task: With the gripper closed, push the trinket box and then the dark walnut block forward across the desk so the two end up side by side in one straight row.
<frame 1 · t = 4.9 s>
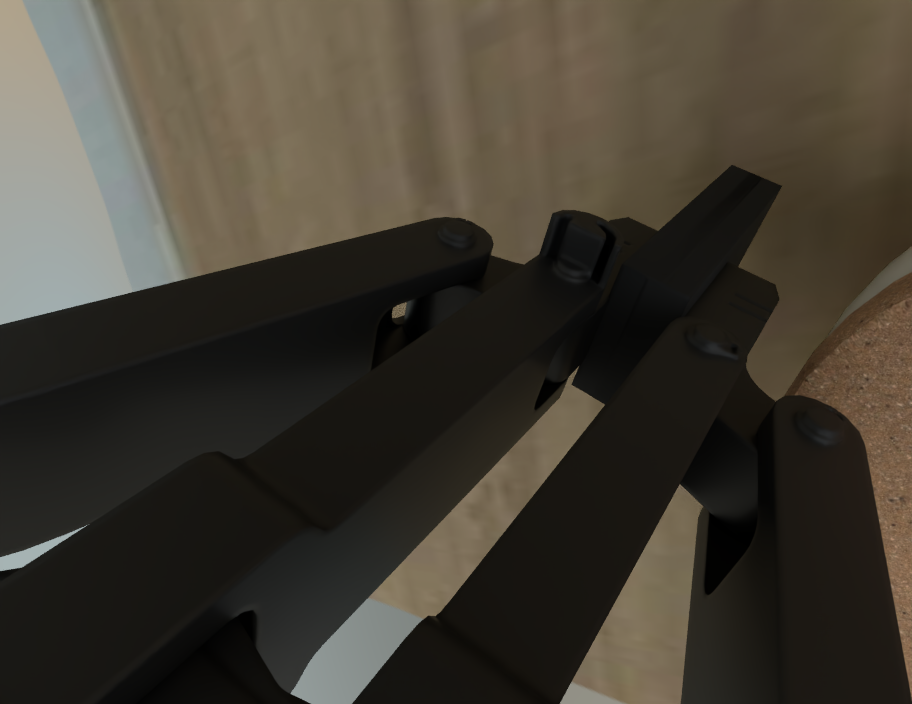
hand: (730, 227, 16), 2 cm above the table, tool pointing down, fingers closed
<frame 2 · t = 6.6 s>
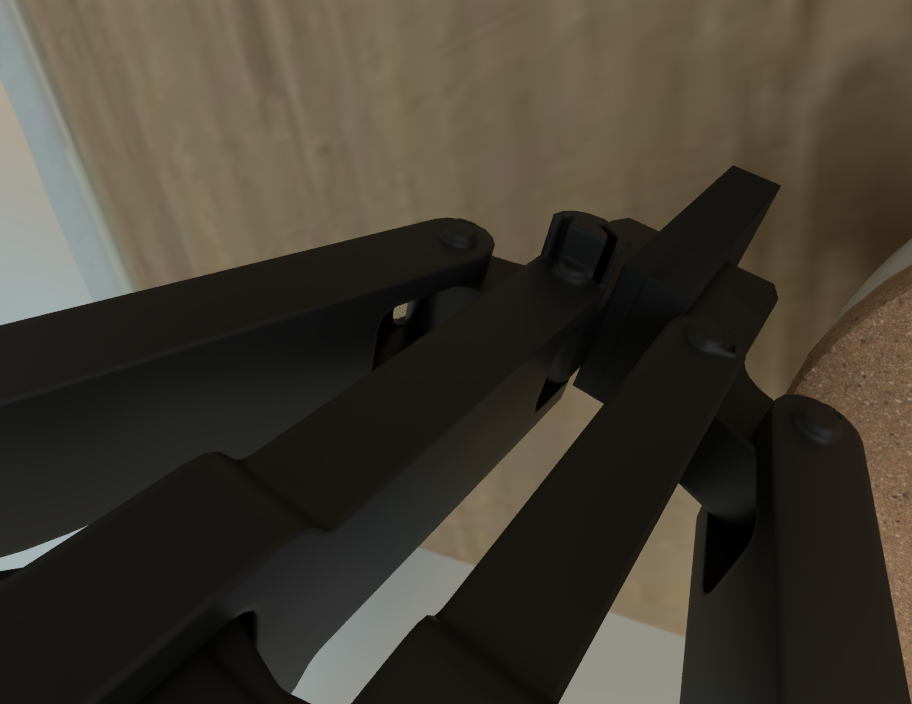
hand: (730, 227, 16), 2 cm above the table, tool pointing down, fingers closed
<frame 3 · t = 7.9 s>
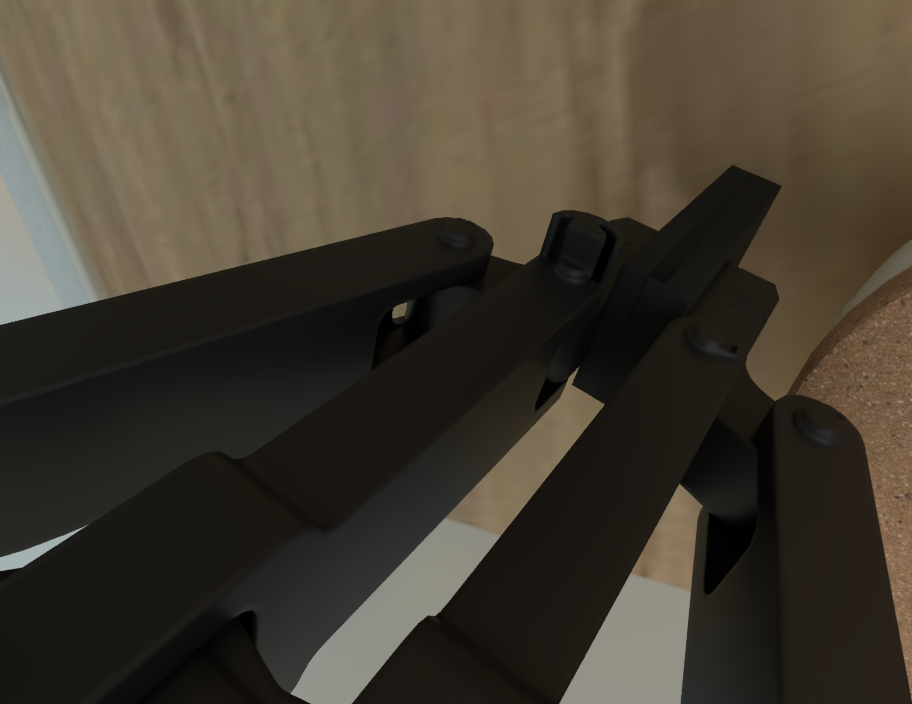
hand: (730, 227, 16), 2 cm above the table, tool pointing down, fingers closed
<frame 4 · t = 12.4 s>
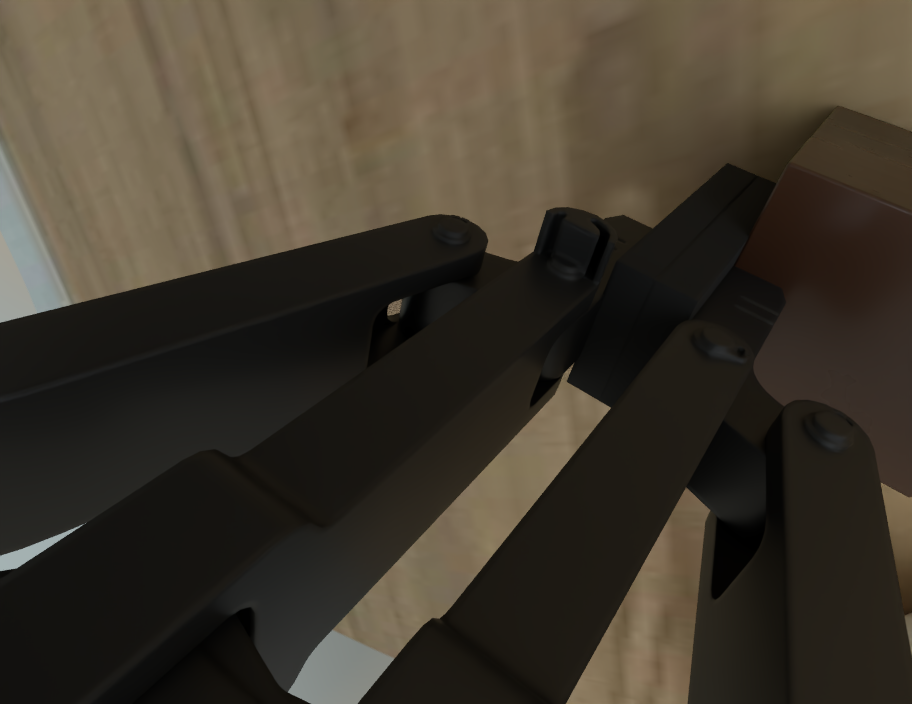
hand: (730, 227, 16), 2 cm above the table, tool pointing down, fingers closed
walnut block: (886, 247, 16), on the table, touching gripper
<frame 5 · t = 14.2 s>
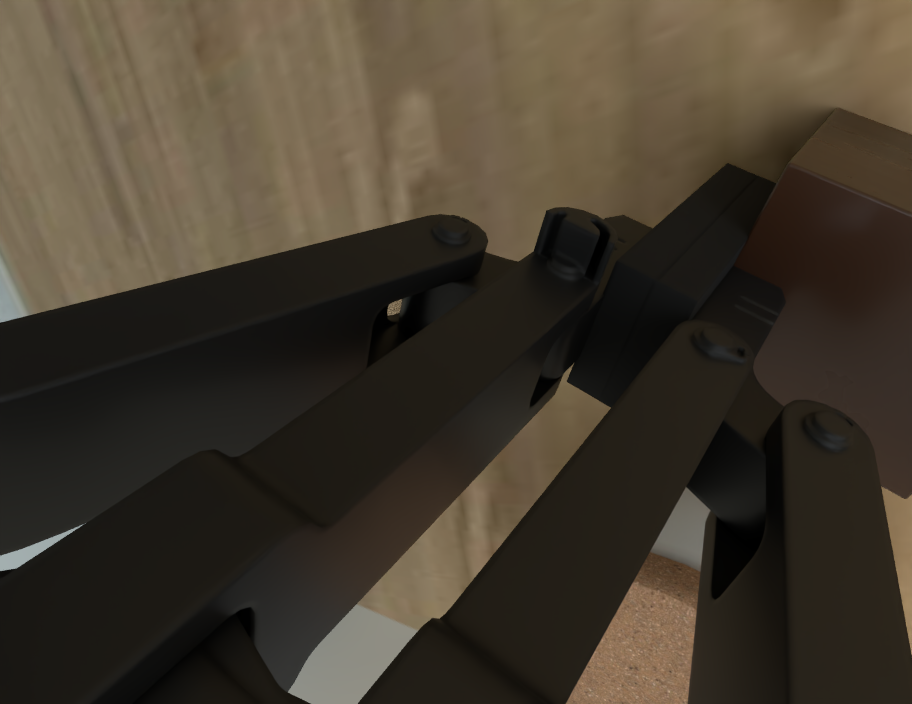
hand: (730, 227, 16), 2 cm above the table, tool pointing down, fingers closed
trinket box: (734, 537, 22), on the table
walnut block: (883, 249, 16), on the table, touching gripper
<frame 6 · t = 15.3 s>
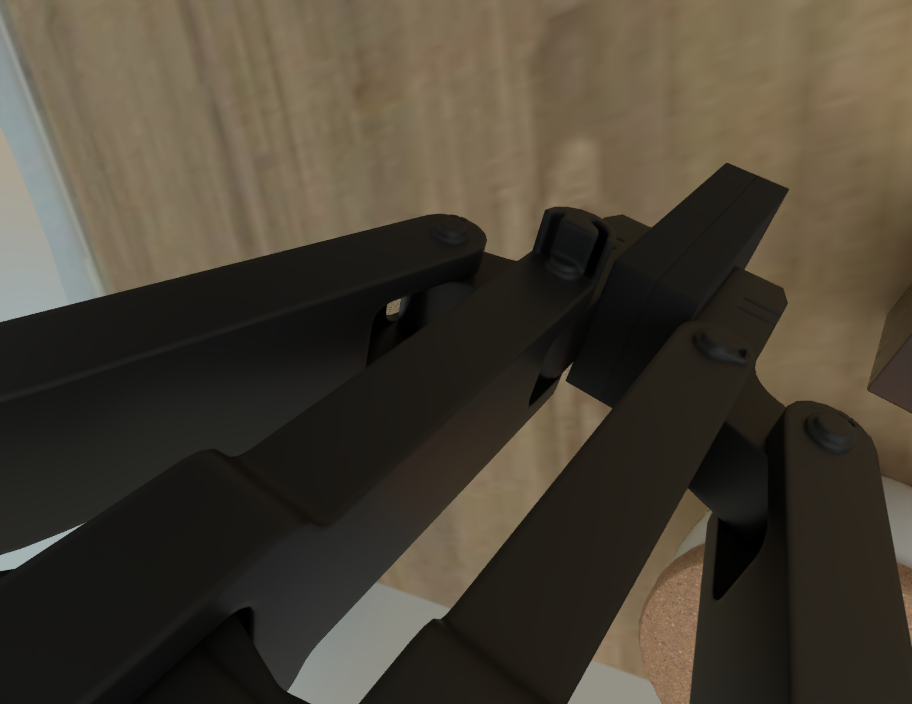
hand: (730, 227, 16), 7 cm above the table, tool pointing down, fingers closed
trinket box: (856, 538, 25), on the table
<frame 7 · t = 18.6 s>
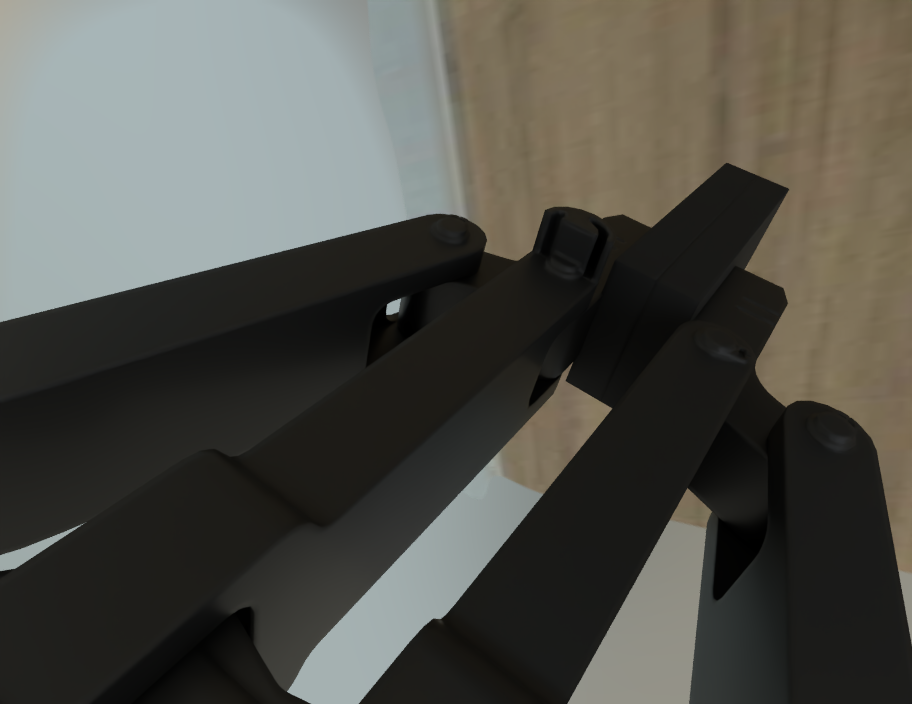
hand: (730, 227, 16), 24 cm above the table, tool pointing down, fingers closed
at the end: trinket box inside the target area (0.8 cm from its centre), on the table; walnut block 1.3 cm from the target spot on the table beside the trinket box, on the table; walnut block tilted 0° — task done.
